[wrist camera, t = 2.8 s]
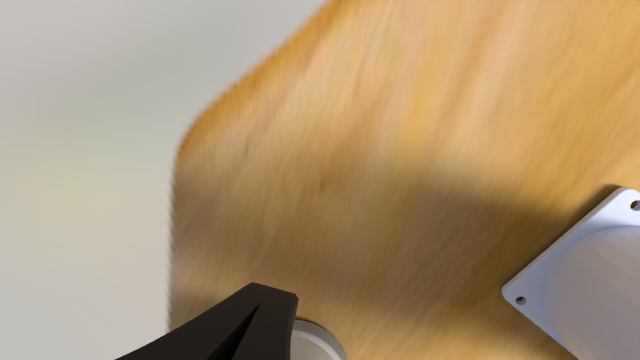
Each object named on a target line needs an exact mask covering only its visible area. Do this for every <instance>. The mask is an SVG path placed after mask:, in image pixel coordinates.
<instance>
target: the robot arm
mask: <svg viewBox="0 0 640 360" xmlns="http://www.w3.org/2000/svg"><path fill="white" fill-rule="evenodd" d="M634 201H637V205H636V206H635V207H634V208H630V205H631V203H632V202H634ZM501 293H502V296H503V297H504V298H505V300H506V301H507V302H509V303H510V304H511V305H512V306H514V307H515V308H516V309H517V310H519V311H520V312H521V313H522V314H524V315H525V316H526V317H527V318H528V319H530V320H531V321H532V322H533V323H535V324H536V325H537V326H538V327H540V328H541V329H542V330H543V331H545V332H546V333H547V334H548V335H550V336H551V337H552V338H553V339H555V340H556V341H557V342H558V343H559V344H561V345H562V346H563V347H564V348H566V349H567V350H568V351H569V352H571V353H572V354H573V355H574V356H576V357H577V359H578V360H640V193H639V192H638V191H636V190H634V189H632V188H629V187H621V188H618V189H617V190H615V191H614V192H613V193H612V194H610V195H609V196H608V197H607V198H606V199H605V200H603V201H602V202H601V203H600V204H599V205H598V206H596V207H595V208H594V209H593V210H592V211H591V212H589V213H588V214H587V215H586V216H585V217H584V218H582V219H581V220H580V221H579V222H578V223H577V224H575V225H574V226H573V227H572V228H571V229H570V230H568V231H567V232H566V233H565V234H564V235H563V236H561V237H560V238H559V239H558V240H557V241H556V242H554V243H553V244H552V245H551V246H550V247H549V248H547V249H546V250H545V251H544V252H543V253H542V254H540V255H539V256H538V257H537V258H536V259H535V260H533V261H532V262H531V263H530V264H529V265H528V266H526V267H525V268H524V269H523V270H522V271H521V272H519V273H518V274H517V275H516V276H515V277H514V278H512V279H511V280H510V281H509V282H508V283H507V284H505V285H504V286H503V288H502V290H501ZM518 297H523V299H522V300H521V301H516V299H517V298H518ZM298 300H299V299H298V297H297V296H296V294H294V293H290V292H287V291H283V290H279V289H276V288H272V287H269V286H265V285H261V284H258V283H254V282H252V283H250V284H248V285H247V286H245V287H243V288H242V289H240V290H239V291H237V292H236V293H234V294H232V295H231V296H229V297H228V298H226V299H225V300H223V301H222V302H220V303H218V304H217V305H215V306H214V307H212V308H210V309H209V310H207V311H205V312H204V313H202V314H201V315H199V316H197V317H196V318H194V319H192V320H191V321H189V322H187V323H186V324H184V325H182V326H180V327H178V328H177V329H175V330H173V331H171V332H169V333H167V334H166V335H164V336H162V337H160V338H158V339H156V340H155V341H153V342H151V343H149V344H147V345H145V346H143V347H141V348H139V349H137V350H135V351H133V352H131V353H129V354H126V355H124V356H122V357H120V358H118V359H115V360H290V346H291V336H292V330H293V325H294V320H295V315H296V310H297V305H298Z"/></svg>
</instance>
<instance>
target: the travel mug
mask: <svg viewBox="0 0 640 360" xmlns="http://www.w3.org/2000/svg"><path fill="white" fill-rule="evenodd" d="M290 360H347V357H346V354H345V352H344V350H343V348H342V346H341V345H340V343H339V342H338V341H337V340H336V338H335V337H334V336H333V335H331V334H330V333H329V332H328V331H327V330H325V329H323V328H322V327H320V326H318V325H316V324H313V323H311V322H306V321H302V320H294V325H293V330H292V336H291V346H290Z"/></svg>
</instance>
